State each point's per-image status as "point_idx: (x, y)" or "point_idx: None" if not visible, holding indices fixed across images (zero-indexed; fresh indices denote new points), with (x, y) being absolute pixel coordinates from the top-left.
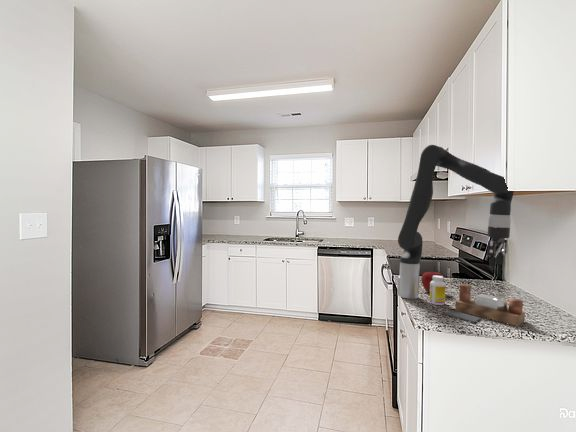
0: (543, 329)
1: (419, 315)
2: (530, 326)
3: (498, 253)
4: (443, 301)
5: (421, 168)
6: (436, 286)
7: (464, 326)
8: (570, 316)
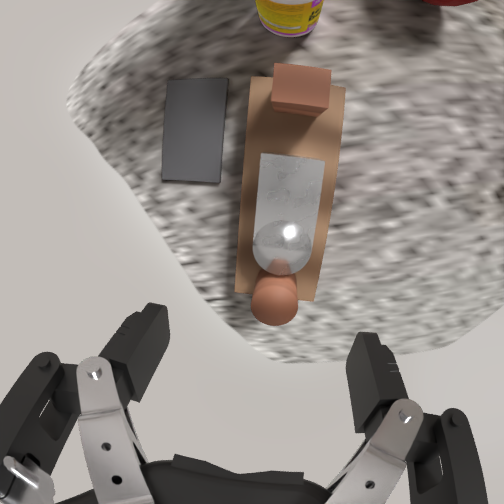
0: None
1: (110, 53)
2: None
3: (378, 423)
4: (280, 31)
5: None
6: None
7: (118, 170)
8: (435, 348)
